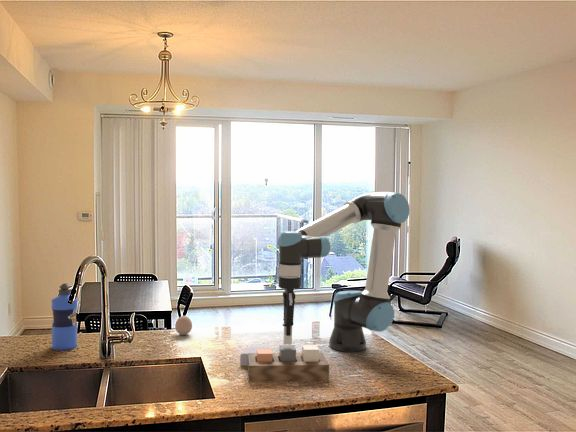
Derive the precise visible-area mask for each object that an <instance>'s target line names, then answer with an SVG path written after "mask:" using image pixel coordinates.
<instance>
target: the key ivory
mask: <svg viewBox="0 0 576 432" xmlns="http://www.w3.org/2000/svg"><path fill="white" fill-rule="evenodd" d="M301 353H302V361H303V362H319V353H320V349H319V347H318V345H317V344H302V345H301Z"/></svg>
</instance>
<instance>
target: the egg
mask: <svg viewBox="0 0 576 432" xmlns="http://www.w3.org/2000/svg"><path fill="white" fill-rule="evenodd" d="M174 325H175V326H174V329H175V331H176V332H177V334H179V335H181V336H186V335H189V334H190V332H192V329H193V322H192V320H191V319H190V317H188V316H187V315H181V316H179V317H178V318H177V320H176V322H175V324H174Z"/></svg>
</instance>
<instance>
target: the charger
mask: <svg viewBox="0 0 576 432" xmlns="http://www.w3.org/2000/svg"><path fill="white" fill-rule="evenodd" d="M257 349H270V348H268V347H263V346H252V345H251V346H247V348H245V349H244V351H243V352H241V354H240V360H239V361H240V363H239V364H240V366H242V365H243V367H244V366H245V367H248V353H257Z"/></svg>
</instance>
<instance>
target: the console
mask: <svg viewBox="0 0 576 432" xmlns="http://www.w3.org/2000/svg"><path fill="white" fill-rule="evenodd" d="M272 353H273V362H256V360H257V353H248V366H247V378H248V383H253V382H254V383H259V382H260V383H262V382H265V383H266V382H267V383H268V382H269V383H270V382H328V381H329V379H330V377H329V376H330V363H329V361H328V360H327V359H326V356H325V355H324V352H319V362H303V361H302V352H296V362H279V352H272Z"/></svg>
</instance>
